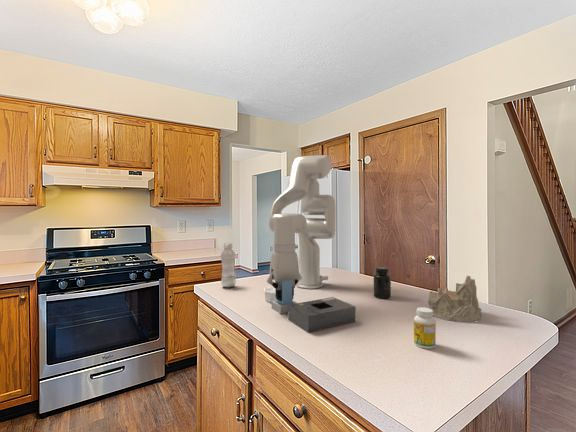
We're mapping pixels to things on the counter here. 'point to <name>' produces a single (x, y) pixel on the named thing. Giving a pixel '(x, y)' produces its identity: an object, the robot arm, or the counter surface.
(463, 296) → the ceramic cottage
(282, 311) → the frame
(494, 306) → the counter surface
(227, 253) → the plastic bottle
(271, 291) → the ramekin
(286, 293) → the plug
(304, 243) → the robot arm
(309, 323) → the port panel
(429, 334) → the supplement bottle
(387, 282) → the supplement bottle
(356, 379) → the counter surface
